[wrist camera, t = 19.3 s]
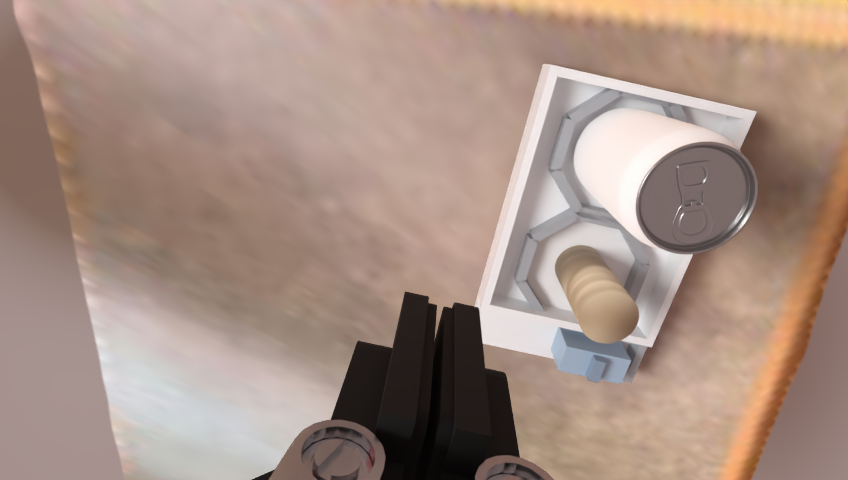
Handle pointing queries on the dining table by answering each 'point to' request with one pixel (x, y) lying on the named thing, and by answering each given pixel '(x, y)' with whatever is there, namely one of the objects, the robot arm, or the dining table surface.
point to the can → (666, 179)
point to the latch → (589, 357)
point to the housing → (579, 216)
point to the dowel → (596, 295)
